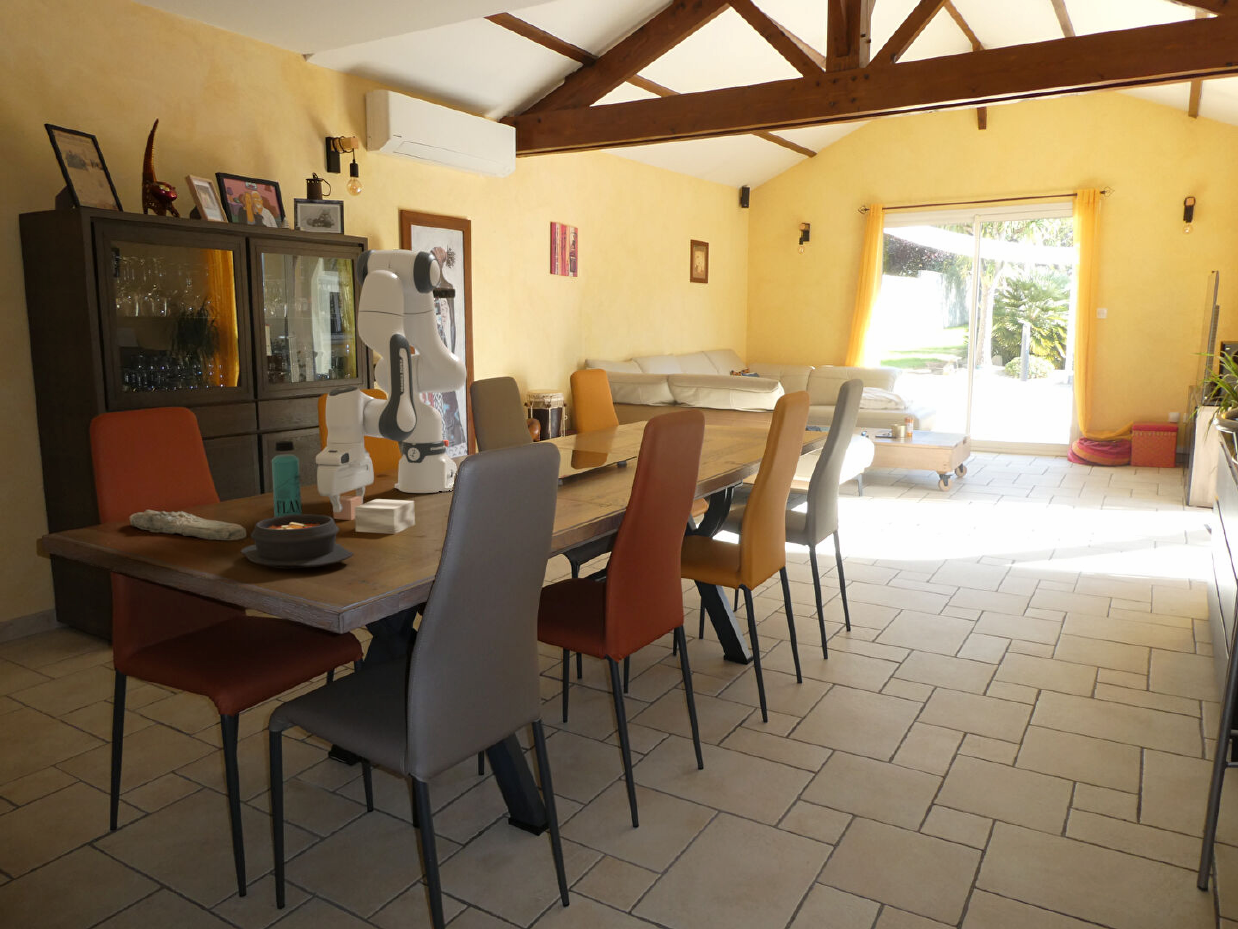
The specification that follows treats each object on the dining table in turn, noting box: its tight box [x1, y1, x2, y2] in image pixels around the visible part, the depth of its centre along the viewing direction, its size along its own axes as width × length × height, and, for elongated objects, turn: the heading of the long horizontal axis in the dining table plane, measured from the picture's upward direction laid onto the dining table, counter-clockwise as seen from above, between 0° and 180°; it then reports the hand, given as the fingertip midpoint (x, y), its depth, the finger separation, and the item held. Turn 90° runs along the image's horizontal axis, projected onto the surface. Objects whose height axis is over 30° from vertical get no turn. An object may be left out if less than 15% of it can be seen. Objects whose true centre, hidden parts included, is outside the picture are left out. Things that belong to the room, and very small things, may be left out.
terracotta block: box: [332, 495, 362, 521], centre depth 224 cm, size 5×5×5 cm
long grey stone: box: [129, 509, 247, 541], centre depth 209 cm, size 35×5×10 cm
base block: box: [354, 498, 416, 535], centre depth 213 cm, size 10×10×6 cm
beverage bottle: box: [271, 440, 303, 517], centre depth 216 cm, size 6×7×20 cm
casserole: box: [240, 513, 354, 569], centre depth 183 cm, size 25×19×8 cm
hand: (348, 508), depth 224 cm, fingers open, 8 cm apart
